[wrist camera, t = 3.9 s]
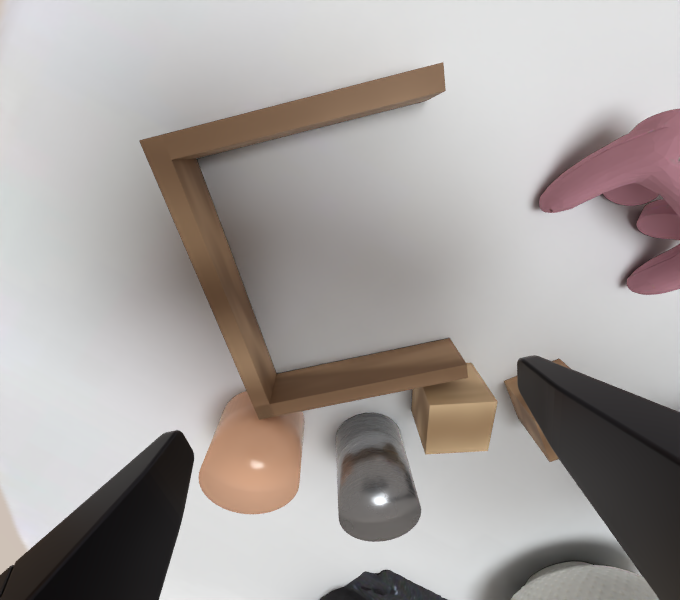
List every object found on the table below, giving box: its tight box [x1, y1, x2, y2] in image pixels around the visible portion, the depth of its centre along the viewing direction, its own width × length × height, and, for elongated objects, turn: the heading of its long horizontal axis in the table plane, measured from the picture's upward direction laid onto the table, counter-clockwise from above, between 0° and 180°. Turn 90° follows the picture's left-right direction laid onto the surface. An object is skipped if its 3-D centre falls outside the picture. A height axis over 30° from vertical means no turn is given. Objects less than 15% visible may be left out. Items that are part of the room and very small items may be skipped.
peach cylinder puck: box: [199, 391, 304, 514], centre depth 22 cm, size 6×6×5 cm
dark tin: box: [336, 413, 421, 542], centre depth 23 cm, size 5×5×6 cm
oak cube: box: [411, 363, 497, 454], centre depth 22 cm, size 4×4×4 cm
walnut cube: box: [504, 359, 570, 462], centre depth 22 cm, size 4×4×4 cm
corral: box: [140, 63, 468, 420], centre depth 18 cm, size 16×13×3 cm
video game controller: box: [539, 109, 680, 295], centre depth 17 cm, size 10×5×7 cm, turn 55°
